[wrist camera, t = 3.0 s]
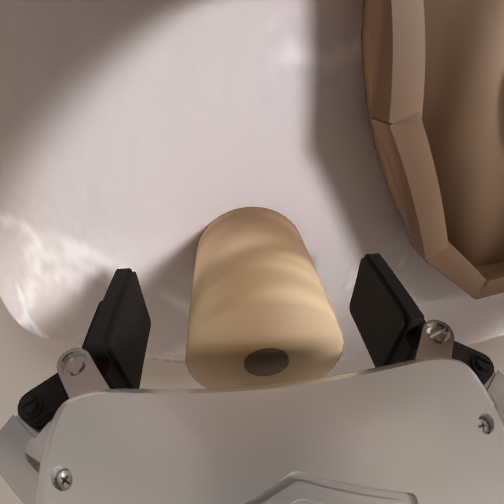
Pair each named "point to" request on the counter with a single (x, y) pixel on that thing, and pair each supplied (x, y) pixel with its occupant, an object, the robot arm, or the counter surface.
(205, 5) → the counter surface
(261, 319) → the bead
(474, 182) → the ring tray
